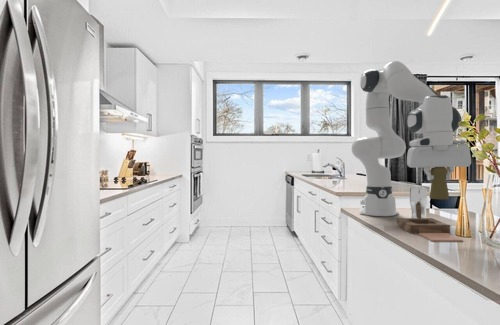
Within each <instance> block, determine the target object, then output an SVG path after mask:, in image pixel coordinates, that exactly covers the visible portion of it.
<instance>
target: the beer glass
mask: <svg viewBox="0 0 500 325" xmlns="http://www.w3.org/2000/svg"><path fill="white" fill-rule="evenodd" d="M408 196H409V204H410V209H411V218H427V217H426V210H427V204H428V191H427V187H422V186H421V187H419V186H415V187H414V186H411V187H409V195H408Z"/></svg>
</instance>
